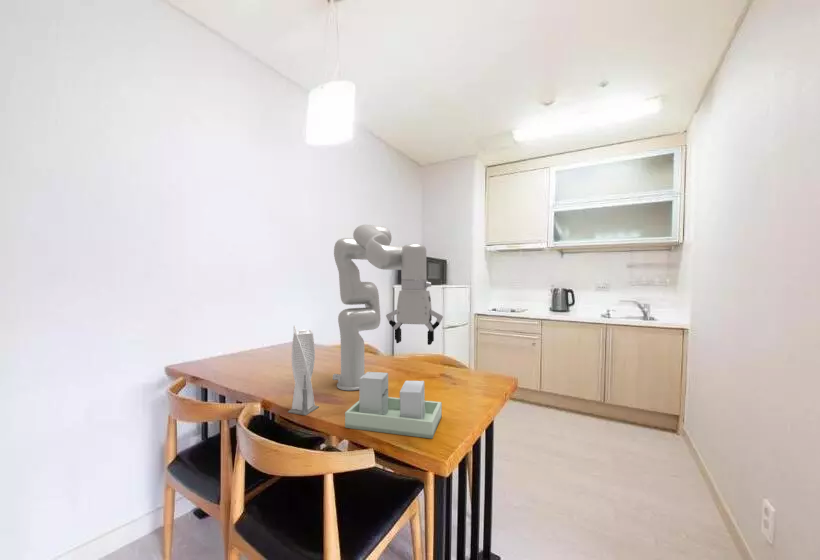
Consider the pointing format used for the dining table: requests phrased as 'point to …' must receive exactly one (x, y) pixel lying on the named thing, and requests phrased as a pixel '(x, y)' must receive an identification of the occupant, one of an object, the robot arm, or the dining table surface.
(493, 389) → the dining table surface
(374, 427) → the tray
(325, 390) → the dining table surface
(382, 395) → the supplement box
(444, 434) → the dining table surface
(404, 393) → the skincare box
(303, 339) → the skyscraper
